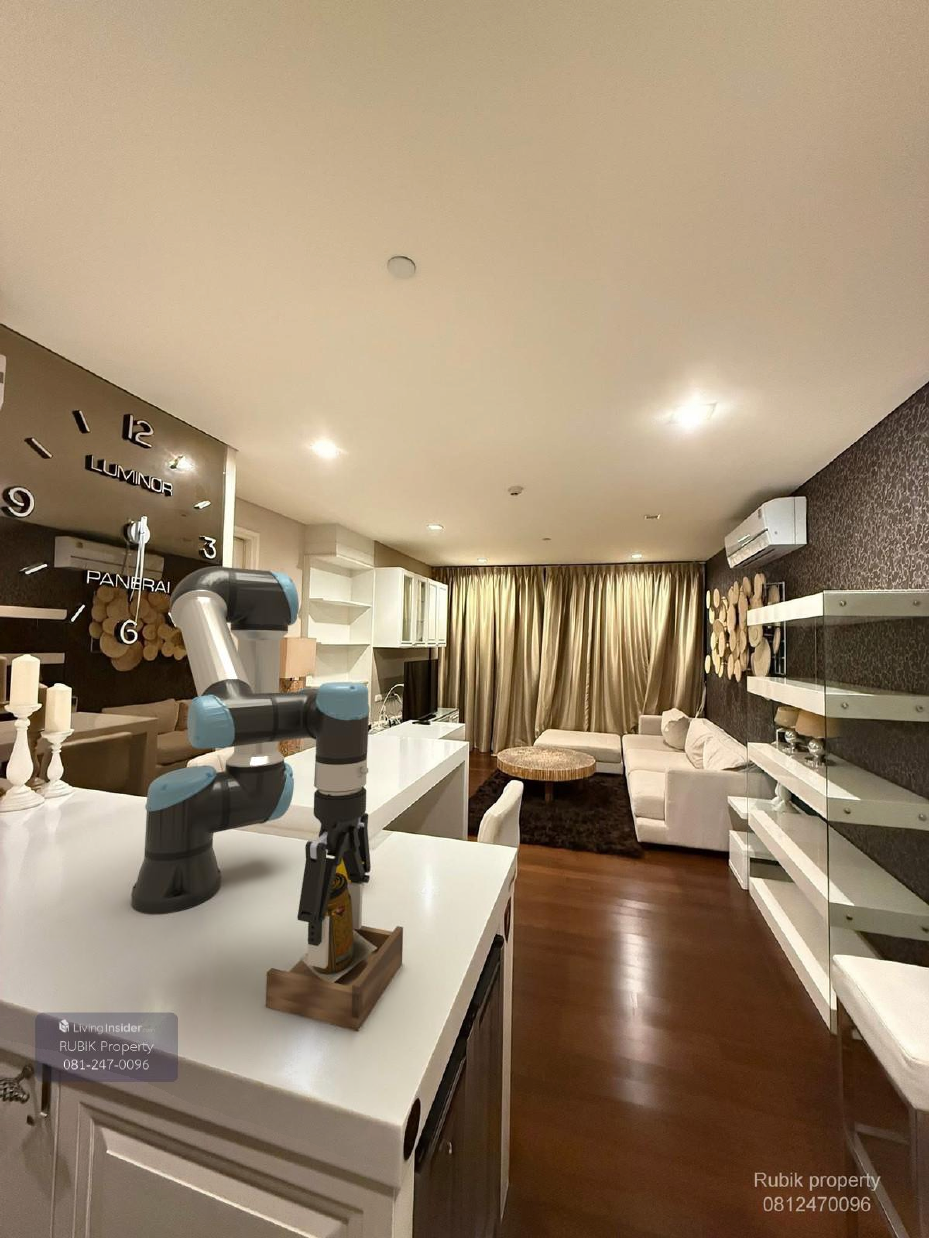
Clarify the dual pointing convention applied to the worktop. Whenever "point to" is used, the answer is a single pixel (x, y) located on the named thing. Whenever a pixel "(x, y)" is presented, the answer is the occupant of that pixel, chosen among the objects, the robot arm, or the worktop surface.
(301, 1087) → the worktop surface
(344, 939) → the condiment
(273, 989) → the wooden serving tray
